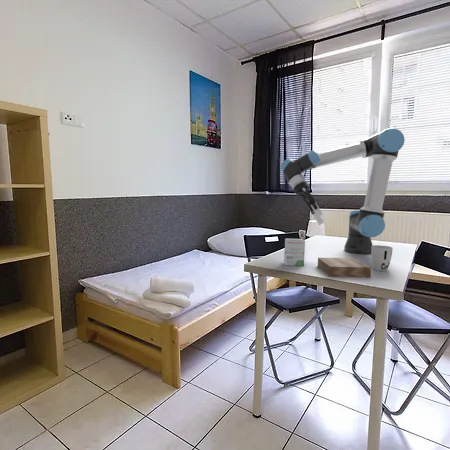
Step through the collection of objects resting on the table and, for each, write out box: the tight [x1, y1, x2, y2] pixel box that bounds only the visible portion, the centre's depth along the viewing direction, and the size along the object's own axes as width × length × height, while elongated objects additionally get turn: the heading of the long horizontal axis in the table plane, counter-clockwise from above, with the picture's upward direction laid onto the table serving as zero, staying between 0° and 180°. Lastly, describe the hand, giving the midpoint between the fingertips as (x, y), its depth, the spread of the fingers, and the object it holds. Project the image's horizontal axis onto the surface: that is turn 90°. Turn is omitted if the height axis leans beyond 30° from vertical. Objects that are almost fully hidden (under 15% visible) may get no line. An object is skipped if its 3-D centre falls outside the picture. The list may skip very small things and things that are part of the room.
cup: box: [370, 244, 394, 272], centre depth 128 cm, size 8×8×10 cm
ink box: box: [283, 237, 306, 267], centre depth 136 cm, size 9×5×12 cm, turn 84°
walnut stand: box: [317, 257, 372, 278], centre depth 125 cm, size 16×16×4 cm
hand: (321, 219), depth 143 cm, fingers open, 13 cm apart
